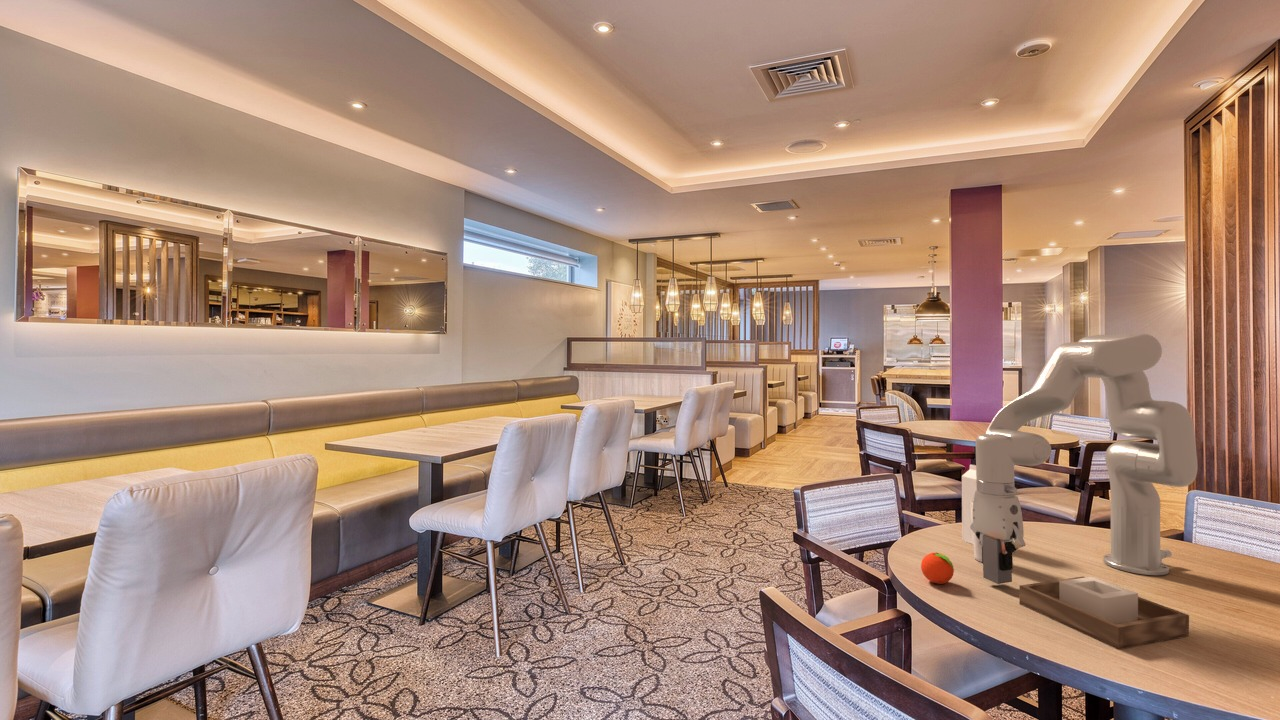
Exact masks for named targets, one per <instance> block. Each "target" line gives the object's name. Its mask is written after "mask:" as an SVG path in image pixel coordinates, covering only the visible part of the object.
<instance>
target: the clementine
mask: <svg viewBox="0 0 1280 720" xmlns="http://www.w3.org/2000/svg"><path fill="white" fill-rule="evenodd" d="M920 569H921V572H922V574H923V576H924V577H925V578H926V579H927V580H928V581H930V582H931V583H933V584H937V585H939V584H940V585H941V584H946V583H948V582H949V581H950V580H952V578H953V576H954V573H955V572H954V571H955V568H954V564H953V563H952V561H951V560H950V558H949V557H947V556H946V555H944V554H942V553H939V552H930V553H928V554H926V555H925V556H924V557H922V560H921V564H920Z"/></svg>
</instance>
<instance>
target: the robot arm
mask: <svg viewBox="0 0 1280 720" xmlns="http://www.w3.org/2000/svg"><path fill="white" fill-rule="evenodd" d="M1162 348H1163V347H1162V345H1161V342H1160V341H1159V340H1158V339H1157V338H1156V337H1155V336H1153V335H1151V334H1148V333H1121V334H1120V333H1116V334H1115V333H1114V334H1113V333H1110V334H1109V333H1108V334H1094V335H1088V336H1085V337H1082V338H1079V340H1078V341H1072V342H1065V343H1061V344H1060V345H1058V346H1056V347H1055V348H1054V349H1053V351H1052V352H1051V354H1050V356H1049V357H1048V359H1047V361H1046V362H1045V364H1044V366H1043V368H1042V369H1041V371H1040V373H1039V374H1038V376H1037V377H1036V379H1035V381H1034V382H1033V385H1032V386H1031V388H1030V389H1028V391H1026V392H1024V393H1023V394H1021V395H1019V396H1018V397H1016V398H1015V399H1013V400H1012V401H1010V402H1009V403H1008V404H1006V405H1004V406H1003V407H1002V408H1001V409H1000V410H999V411H998V412H997V413H996V414H995V416H994V417H993V419H992V420H991V421H990V424H989V425H988V427H987V428H986V430H985V433H982V434H979V435H977V437H976V438H975V465H976V478H977V479H976V483H977V490H976V491H975V495H974V502H973V523H972V524H971V526H970V528H971V530H972V531H973V532H974V533H975V534H976V536H977V538H978V539H979V544H980V545H981V546H982V562H981V563H982V564H983V541H982V535H985V534H986V535H988V536H991V537H994V538H997V539H999V541H1000V547H1001V552H1002V553H999V565H1000V570H1001V571H1006V570H1012V571H1013V565H1014V561H1013V558H1014V557H1013V554H1014V553H1015V552H1016V551H1017V550H1018V549H1020V548H1023V547H1026V545H1027V544H1026V541H1025V540H1024V534H1025V533H1024V520H1023V519H1024V518H1023V513H1022V508H1021V507H1022V506H1021V503H1020V500H1019V497H1018V496H1017V495H1015V494H1017V493H1018V488H1017V487H1015V466H1029V467H1033V466H1038V465H1041V464H1044V463H1046V462H1047V461H1048V460H1049V459H1050V457H1051V454H1052V446H1051V444H1050V442H1049V440H1048V439H1046V438H1045V437H1044V436H1042V435H1040V434H1037V433H1033V432H1028V431H1027V432H1026V431H1021V430H1020V428H1022V427H1023V426H1024V425H1026V424H1027V423H1030V422H1031V421H1033V420H1036V419H1039V418H1042V417H1046V416H1050V415H1054V414H1057V413H1059V412H1062V411H1064V410H1066V409H1068V408H1069V407H1070V406H1071V404H1072V402H1073V401H1074V399H1075V397H1076V395H1077V393H1078V392H1079V391H1080V388H1081V386H1082V385H1083V384H1084V382H1085V380H1086V379H1088V378H1095V379H1096V378H1097V379H1101V381H1102V382H1103V384H1104V386H1103V387H1104V390H1105V399H1106V409H1107V416H1108V422H1109V426H1110V428H1111V430H1112V431H1113V432H1114V433H1115V434H1117V435H1120V436H1124V437H1125V436H1126V437H1130V438H1138V439H1145V440H1153V441H1157V443H1153V442H1145V441H1137V440H1136V441H1135V440H1119V441H1116V442H1113V443H1112V444H1110V445H1109V446H1108V447H1107V449H1106V451H1105V455H1104V457H1105V458H1104V459H1105V460H1104V461H1105V465H1106V468H1107V473H1108V479H1109V485H1110V486H1109V487H1110V553H1107V554H1104V555H1103V557H1102V561H1103V563H1105V564H1106V565H1107V566H1109V567H1111V568H1114V569H1117V570H1121V571H1124V572H1128V573H1133V574H1139V575H1146V576H1165V575H1167V574H1169V573H1170V567H1169V566H1168V565H1167V564H1165V563H1163V559H1165V558H1166V559H1167V558H1170V557H1172V552H1171V550H1170V549H1161V497H1160V495H1159V493H1158V491H1157V488H1156V487H1155V485H1154V484H1159V485H1163V486H1169V487H1174V488H1184V487H1188V486H1190V485H1191V484H1192V483H1194V481H1195V479H1197V476H1198V475H1197V474H1198V467H1199V466H1198V454H1197V453H1198V452H1197V446H1196V445H1197V443H1196V434H1195V426H1194V421H1193V417H1192V415H1191V413H1190V411H1189V410H1188V409H1187V408H1186V407H1185V406H1184V405H1183V404H1180V403H1177V402H1174V401H1169V400H1167V401H1166V400H1156V399H1153V398H1152V396H1151V391H1150V389H1151V388H1150V384H1149V378H1148V377H1147V374H1146V373H1145V372H1144V371H1146V370H1149V369H1151V368H1154V366H1156V365H1157V364H1158V363H1159V361H1160V360H1161V358H1162V354H1163V349H1162ZM1006 542H1008V546H1006Z"/></svg>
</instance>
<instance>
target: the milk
mask: <svg viewBox="0 0 1280 720" xmlns="http://www.w3.org/2000/svg"><path fill="white" fill-rule="evenodd" d="M976 479H977V478H976V464H969V469H968V470H967V471H965V473H963V474H962V475H961V541H962V542H965V543H967V544H971V545H973V534H972V530H971V528H970V526H971V502H972V501H974V495H975V491H976V490H977V483H976Z"/></svg>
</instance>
